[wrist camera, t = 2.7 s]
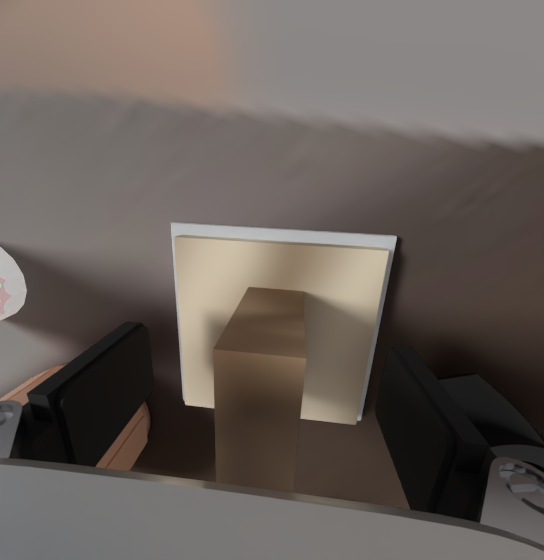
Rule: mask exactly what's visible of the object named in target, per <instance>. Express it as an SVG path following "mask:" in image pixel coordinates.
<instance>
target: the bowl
mask: <svg viewBox="0 0 544 560" xmlns="http://www.w3.org/2000/svg"><path fill="white" fill-rule="evenodd" d="M67 364H68V363H65V364H62V365H60V366H55V367H53V368H51V369H49V370H47V371H45V372H42V373H40V374H38V375H36V376H34V377H32V378H31V379H29V380H28V381H26V382H25V383H23V384H22V385H20V386H19V387H17V388H16V389H14V390H13V391H11V392H10V393H8V394H7V395H5V396H4V397H2V398H1V399H0V401H4V400H14V401H18V402H20V403H21V404H22V406H23V405H25V404H26V403H27V402H29V400H28V397H27V393H28V392H29V391H31V390H32V389H33V388H35V387H36V386H37V385H39V384H40V383H42V382H43V381H44V380H46V379H47V378H49V377H50V376H51V375H53V374H54V373H56V372H57V371H58V370H60V369H61V368H63V367H64V366H65V365H67ZM149 430H150V413H149V410H148V407H147V404H146V402H145V401H144V403H143V404H142V405H141V407H140V408H139V409H138V411H137V412H136V413H135V415H134V416H133V417H132V419H131V420H130V421H129V423H128V424H127V425H126V427H125V428H124V429H123V431H122V432H121V433H120V435H119V436H118V437H117V439H116V440H115V441H114V443H113V444H112V445H111V447H110V448H109V449H108V451H107V452H106V453H105V455H104V456H103V457H102V459H101V460H100V461H99V463H98V464H97V465H96V467H98V468H106V469H114V470H122V471H130V469H131V468H132V466H133V465H134V463H135V461H136V460H137V458H138V456H139V455H140V453H141V452H142V450H143V448H144V447H145V445H146V444H147V441H148V440H147V435H148V433H149Z"/></svg>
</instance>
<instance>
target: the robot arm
mask: <svg viewBox="0 0 544 560" xmlns="http://www.w3.org/2000/svg"><path fill="white" fill-rule="evenodd" d="M153 387H154V379H153V370H152V361H151V352H150V343H149V334H148V329H147V327H145V326H144V324H143V323H137V322H125V323H124V324H122V325H121V326H120V327H118V328H117V329H115V330H114V331H113V332H111V333H110V334H108V335H107V336H106V337H104V338H103V339H101V340H100V341H99V342H97V343H96V344H95V345H93V346H92V347H90V348H89V349H88V350H86V351H85V352H83V353H82V354H81V355H79V356H78V357H76V358H75V359H74V360H72V361H71V362H69V363H68V364H67V365H65V366H64V367H63V368H61V369H60V370H58V371H57V372H56V373H54V374H53V375H51V376H50V377H49V378H47V379H46V380H44V381H43V382H42V383H40V384H39V385H37V386H36V387H35V388H33V389H32V390H31V391H29V392H28V393H27V397H28V400H29V402H27V403H26V404H25V405H23V406H22V404H21V403H20V402H18V401H14V400H4V401H0V560H544V473H543V472H541V471H540V470H538V469H536V468H535V467H533V466H531V465H529V464H527V463H525V462H522V461H520V460H517V459H513V458H509V457H499V458H497V457H496V455H495V454H494V453H493V452H492V450H491V449H490V448H489V447H490V445H489V444H488V442H487V441H486V440H485V439H484V437H483V436H482V435H481V434H480V432H479V431H478V430H477V429H476V427H475V426H474V425H473V423H472V422H471V421H470V420H469V418H468V417H467V416H466V415H465V413H464V412H463V411H462V410H461V408H460V407H459V406H458V405H457V403H456V402H455V401H454V399H453V398H452V397H451V396H450V394H449V393H448V392H447V391H446V389H445V388H444V387H443V386H442V384H441V383H440V382H439V380H438V379H437V378H436V377H435V375H434V374H433V373H432V372H431V370H430V369H429V368H428V367H427V365H426V364H425V363H424V362H423V360H422V359H421V358H420V356H419V355H418V354H417V353H416V351H415V350H414V349H413V348H412V347H407V346H396V345H395V346H394V347H393V348H392V349H389V350H388V352H387V356H386V360H385V365H384V369H383V374H382V379H381V383H380V388H379V393H378V397H377V402H376V407H375V412H376V417H377V420H378V423H379V425H380V428H381V431H382V434H383V436H384V439H385V442H386V444H387V447H388V450H389V452H390V455H391V458H392V460H393V463H394V466H395V468H396V471H397V474H398V477H399V479H400V482H401V485H402V487H403V490H404V493H405V495H406V498H407V501H408V503H409V506H410V509H411V510H408V509H402V508H396V507H389V506H383V505H377V504H370V503H363V502H355V501H348V500H341V499H334V498H327V497H319V496H312V495H305V494H298V493H290V492H283V491H276V490H268V489H261V488H253V487H246V486H238V485H231V484H223V483H216V482H208V481H200V480H193V479H185V478H177V477H170V476H162V475H154V474H146V473H138V472H130V471H122V470H114V469H106V468H98V467H96V465H97V464H98V463H99V461H100V460H101V459H102V457H103V456H104V455H105V453H106V452H107V451H108V449H109V448H110V447H111V445H112V444H113V443H114V441H115V440H116V439H117V437H118V436H119V435H120V433H121V432H122V431H123V429H124V428H125V427H126V425H127V424H128V423H129V421H130V420H131V419H132V417H133V416H134V415H135V413H136V412H137V411H138V409H139V408H140V407H141V405H142V404H143V403H144V401H145V400H146V399H147V397H148V396H149V395H150V393H151V392H152V390H153Z"/></svg>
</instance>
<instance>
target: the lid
mask: <svg viewBox="0 0 544 560" xmlns="http://www.w3.org/2000/svg"><path fill="white" fill-rule="evenodd" d="M174 245H175V260H176V275H177V290H178V305H179V320H180V335H181V350H182V364H183V379H184V394H185V405H190V406H199V407H207V408H214V411H215V453H216V483H223V484H231V485H238V486H246V487H253V488H261V489H268V490H276V491H283V492H290V493H293V483H294V474H295V464H296V455H297V445H298V436H299V426H300V418H301V419H309V420H318V421H327V422H335V423H344V424H352V425H356V422H357V417H358V412H359V406H360V401H361V396H362V391H363V385H364V380H365V375H366V370H367V364H368V359H369V354H370V349H371V344H372V338H373V333H374V328H375V323H376V317H377V312H378V307H379V302H380V296H381V291H382V286H383V281H384V276H385V270H386V265H387V260H388V255H389V251H388V250H387V249H385V248H383V247H367V246H352V245H336V244H321V243H305V242H290V241H274V240H259V239H243V238H228V237H212V236H196V235H179V236H175V237H174Z"/></svg>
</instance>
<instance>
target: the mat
mask: <svg viewBox="0 0 544 560" xmlns="http://www.w3.org/2000/svg"><path fill="white" fill-rule="evenodd" d="M171 233H172V248H173V262H174V277H175V291H176V305H177V320H178V334H179V349H180V363H181V377H182V392H183V400H185V394H184V379H183V364H182V350H181V335H180V320H179V305H178V290H177V275H176V260H175V245H174V237H175V236H179V235H196V236H212V237H228V238H243V239H259V240H274V241H290V242H305V243H321V244H336V245H352V246H367V247H383V248H385V249H387V250H388V251H389V255H388V260H387V265H386V270H385V276H384V281H383V286H382V291H381V296H380V302H379V307H378V312H377V317H376V323H375V328H374V333H373V338H372V344H371V349H370V354H369V359H368V364H367V370H366V375H365V380H364V385H363V391H362V396H361V401H360V406H359V412H358V417H357V421H361V417H362V412H363V407H364V402H365V397H366V392H367V387H368V382H369V376H370V371H371V366H372V361H373V356H374V351H375V346H376V341H377V336H378V331H379V326H380V321H381V316H382V311H383V305H384V300H385V295H386V290H387V285H388V280H389V275H390V270H391V265H392V260H393V255H394V250H395V245H396V240H397V236H394V235H379V234H362V233H346V232H329V231H313V230H296V229H280V228H263V227H247V226H230V225H214V224H197V223H181V222H173V223H171Z"/></svg>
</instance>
